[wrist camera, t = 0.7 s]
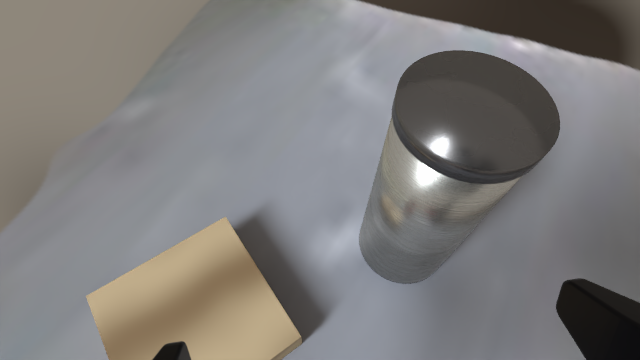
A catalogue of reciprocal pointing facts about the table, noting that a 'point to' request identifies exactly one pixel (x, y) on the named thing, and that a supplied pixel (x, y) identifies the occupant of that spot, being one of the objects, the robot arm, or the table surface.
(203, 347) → the oak board
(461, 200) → the canister
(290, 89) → the table surface
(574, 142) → the table surface
